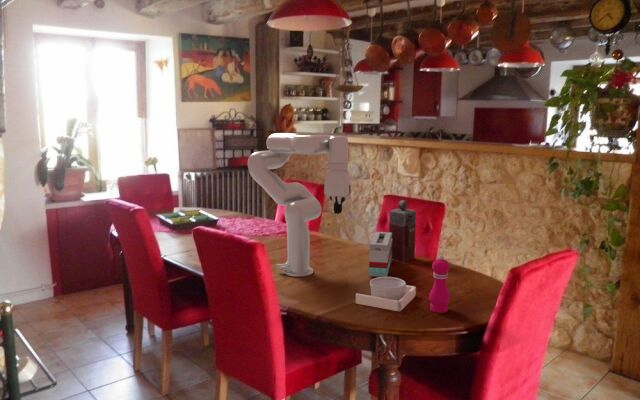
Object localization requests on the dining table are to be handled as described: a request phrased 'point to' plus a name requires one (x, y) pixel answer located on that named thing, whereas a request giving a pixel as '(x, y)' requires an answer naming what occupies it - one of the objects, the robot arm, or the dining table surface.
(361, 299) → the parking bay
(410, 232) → the square decanter
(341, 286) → the dining table surface
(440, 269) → the pepper mill
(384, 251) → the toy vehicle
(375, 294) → the ramekin
